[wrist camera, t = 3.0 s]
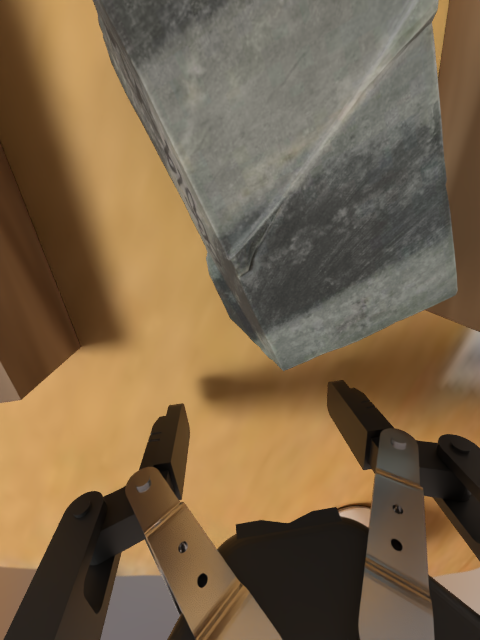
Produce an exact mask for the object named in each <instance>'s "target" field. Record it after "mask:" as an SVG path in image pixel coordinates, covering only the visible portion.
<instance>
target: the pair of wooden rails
mask: <svg viewBox="0 0 480 640" xmlns="http://www.w3.org/2000/svg"><path fill="white" fill-rule="evenodd" d="M438 88H439V98H440V109H441V120H442V134H443V148H444V160H445V168H446V177H447V182H446V190H447V194H448V200H449V207H450V213H451V223H452V234H453V243H454V251H455V262H456V272H457V288H458V291H457V294H456V295H455V296H453V297H451V298H449V299H447V300H445V301H442V302H440V303H438V304H436V305H434V306H432V307H430V308H427V309H425V310H426V311H429V312H431V313H434V314H436V315H439V316H441V317H444V318H446V319H449V320H451V321H454V322H456V323H459V324H461V325H464V326H466V327H469V328H471V329H474V330H476V331H479V332H480V0H450V1H449V8H448V15H447V22H446V29H445V36H444V43H443V50H442V57H441V64H440V71H439V78H438ZM80 347H81V346H80V344H79V341H78V338H77V336H76V333H75V331H74V328H73V326H72V323H71V321H70V318H69V316H68V313H67V311H66V308H65V305H64V303H63V300H62V298H61V295H60V293H59V290H58V288H57V285H56V283H55V280H54V278H53V275H52V272H51V270H50V267H49V265H48V262H47V260H46V257H45V255H44V252H43V250H42V247H41V245H40V242H39V239H38V237H37V234H36V232H35V229H34V227H33V224H32V222H31V219H30V217H29V214H28V212H27V209H26V206H25V204H24V201H23V199H22V196H21V194H20V191H19V189H18V186H17V184H16V181H15V178H14V176H13V173H12V171H11V168H10V166H9V163H8V161H7V158H6V156H5V153H4V151H3V148H2V145H1V143H0V403H3V402H10V401H17V400H22V399H23V398H24V397H25V396H26V395H27V394H28V393H29V392H31V391H32V390H33V389H34V388H35V387H36V386H37V385H38V384H40V383H41V382H42V381H43V380H44V379H45V378H46V377H48V376H49V375H50V374H51V373H52V372H53V371H54V370H55V369H57V368H58V367H59V366H60V365H61V364H62V363H63V362H64V361H66V360H67V359H68V358H69V357H70V356H71V355H72V354H74V353H75V352H76V351H77V350H78V349H79V348H80Z"/></svg>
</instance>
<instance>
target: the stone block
mask: <svg viewBox="0 0 480 640" xmlns="http://www.w3.org/2000/svg"><path fill="white" fill-rule="evenodd" d="M93 2H94V5H95V7H96V10H97V13H98V20H99V25H100V28H101V30H102V33H103V38H104V41H105V44H106V47H107V50H108V53H109V57H110V60H111V63H112V65H113V67H114V69H115V71H116V74H117V76H118V78H119V80H120V82H121V84H122V86H123V88H124V91H125V93H126V95H127V96H128V98H129V100H130V102H131V104H132V106H133V108H134V109H135V111H136V113H137V115H138V117H139V119H140V120H141V122H142V124H143V126H144V128H145V130H146V132H147V134H148V135H149V137H150V139H151V141H152V143H153V145H154V147H155V149H156V151H157V153H158V155H159V156H160V158H161V160H162V162H163V164H164V166H165V168H166V169H167V171H168V174H169V176H170V177H171V179H172V181H173V183H174V185H175V187H176V188H177V190H178V192H179V194H180V196H181V198H182V200H183V202H184V204H185V206H186V208H187V210H188V212H189V214H190V216H191V219H192V221H193V222H194V224H195V226H196V228H197V230H198V232H199V234H200V236H201V238H202V240H203V243H204V244H205V246H206V249H207V252H208V253H207V257H206V260H207V265H208V271H209V275H210V277H211V279H212V281H213V283H214V285H215V287H216V289H217V292H218V294H219V296H220V298H221V300H222V302H223V304H224V306H225V308H226V310H227V312H228V315H229V317H230V319H231V320H232V321H234V322H235V323H236V324H237V325H238V326H239V327H240V328H241V329H242V330H243V331H244V332H245V333H246V334H247V335H248V336H249V338H250V339H251V340H252V341H253V342H254V343H255V344H256V345H258V346H259V347H260V348H261V349H262V351H263V352H264V353H265V354H266V355H267V356H268V357H269V358H270V359H272V360H273V361H274V362H275V363H276V364H277V365H278V366H279V367H280V368H281V369H282V370H283V371H285V370H287V369H290V368H292V367H294V366H297V365H299V364H301V363H304V362H306V361H309V360H311V359H313V358H315V357H317V356H319V355H322V354H324V353H327V352H330V351H333V350H335V349H339V348H342V347H344V346H347V345H349V344H352V343H354V342H357V341H359V340H361V339H363V338H365V337H367V336H369V335H371V334H373V333H375V332H378V331H380V330H382V329H384V328H386V327H388V326H389V325H391V324H393V323H395V322H397V321H400V320H403V319H405V318H407V317H409V316H412V315H414V314H416V313H418V312H421V311H423V310H425V309H427V308H430V307H432V306H434V305H436V304H438V303H440V302H442V301H445V300H447V299H449V298H451V297H453V296H455V295H456V294H457V291H458V288H457V272H456V262H455V251H454V243H453V234H452V223H451V213H450V207H449V200H448V194H447V190H446V182H447V177H446V168H445V160H444V148H443V134H442V120H441V109H440V98H439V88H438V77H437V66H436V56H435V45H434V36H433V28H432V21H433V18H434V16H435V14H436V12H437V9H438V0H93Z"/></svg>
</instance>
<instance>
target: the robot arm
mask: <svg viewBox="0 0 480 640" xmlns="http://www.w3.org/2000/svg"><path fill="white" fill-rule="evenodd" d="M327 407H328V411H329V414H330V416H331V418H332V419H333V421H334V423H335V424H336V426H337V428H338V429H339V431H340V433H341V434H342V436H343V438H344V439H345V441H346V443H347V444H348V446H349V447H350V449H351V451H352V452H353V454H354V456H355V457H356V459H357V461H358V462H359V464H360V466H361V467H362V469H363V470H367V469H372V470H373V471H374V473H375V478H374V486H373V494H372V502H371V511H370V519H369V527H367V526H365V525H364V524H362V523H360V522H358V521H356V520H353V519H350V518H346V517H342V516H340V515H339V512H338V510H337V508H336V507H334V508H328V509H322V510H317V511H312V512H310V513H308V514H306V515H304V516H302V517H300V518H298V519H296V520H294V521H293V522H290V523H280V522H272V521H264V520H259V521H253V522H248V523H242V524H236V533H237V534H235V535H234V536H232V537H230V538H229V539H227V540H226V541H225V542H224V543H223V544H222V545H221V546H220V547H219V548H218V549H216V547H215V546H214V544H213V543H212V542H211V540H210V539H209V537H208V536H207V534H206V533H205V532H204V530H203V529H202V527H201V526H200V524H199V523H198V521H197V520H196V519H195V517H194V516H193V514H192V513H191V511H190V510H189V508H188V507H187V506H186V504H185V503H184V502H180V501H179V500H182V494H183V486H184V478H185V470H186V462H187V454H188V446H189V438H190V429H189V423H188V419H187V415H186V411H185V406H184V404H183V403H182V404H176V405H169V407H168V410H167V414H166V416H162V417H159V418H158V420H157V421H156V422H155V423H154V425H153V428H152V431H151V435H150V437H149V440H148V443H147V446H146V450H145V453H144V456H143V459H142V462H141V465H140V469H139V471H137V472H136V473H135V474H133V475H132V476H131V478H130V479H129V480H128V482H127V484H126V486H125V487H123V488H121V489H119V490H117V491H115V492H113V493H111V494H109V495H106V496H104V497H103V496H102V494H101V493H100V492H97V491H91V492H87V493H85V494H83V495H81V496H80V497H78V498H77V499H76V500H74V501H73V502H72V503H71V504H70V505H69V507H68V508H67V509H66V511H65V513H64V515H63V517H62V519H61V521H60V523H59V525H58V527H57V529H56V531H55V533H54V535H53V538H52V540H51V542H50V544H49V546H48V548H47V550H46V552H45V554H44V556H43V558H42V561H41V563H40V565H39V567H38V569H37V571H36V573H35V575H34V577H33V580H32V582H31V584H30V586H29V588H28V590H27V592H26V594H25V596H24V598H23V600H22V602H21V605H20V606H19V609H18V611H17V613H16V615H15V617H14V619H13V621H12V623H11V625H10V627H9V629H8V632H7V634H6V636H5V638H4V640H100V638H101V634H102V630H103V626H104V622H105V618H106V614H107V610H108V605H109V601H110V597H111V593H112V589H113V585H114V581H115V577H116V573H117V568H118V564H119V560H120V556H121V552H122V551H124V550H126V549H128V548H129V547H131V546H133V545H135V544H137V543H139V542H140V541H142V540H144V539H145V541H146V543H147V546H148V548H149V550H150V552H151V554H152V556H153V558H154V560H155V563H156V565H157V567H158V569H159V571H160V573H161V575H162V578H163V580H164V582H165V584H166V586H167V589H168V591H169V593H170V596H171V598H172V600H173V602H174V604H175V606H176V609H177V611H178V613H179V615H180V617H179V619H178V621H177V622H176V624H175V626H174V628H173V630H172V632H171V634H170V636H169V638H168V639H167V640H480V615H479V614H477V613H476V612H475V611H474V610H472V609H471V608H470V607H468V606H467V605H466V604H465V603H463V602H462V601H461V600H460V599H458V598H457V597H456V596H455V595H453V594H452V593H450V591H448V590H447V589H446V588H445V587H443V586H442V585H441V584H439V583H438V582H437V581H436V580H435V579H433V578H432V577H431V576H429V575H428V563H427V545H426V527H425V509H424V496H430V497H433V498H434V500H435V501H436V502H437V504H438V505H439V506H440V508H441V509H442V511H443V512H444V513H445V515H446V516H447V517H448V519H449V520H450V521H451V523H452V524H453V525H454V527H455V528H456V530H457V531H458V532H459V534H460V535H461V536H462V538H463V539H464V540H465V542H466V543H467V544H468V546H469V547H470V549H471V550H472V551H473V553H474V554H475V555H476V557H477V558H478V559H479V561H480V448H479V447H478V446H477V445H475V444H474V443H473V442H471V441H469V440H467V439H465V438H463V437H460V436H457V435H452V434H446V435H442V436H441V437H440V438H439V440H438V443H432V442H424V441H417V440H415V439H414V438H413V437H412V436H411V435H409V434H408V433H406V432H404V431H402V430H399V429H395V428H394V427H393V426H392V425H391V424H390V423H389V422H388V421H387V419H386V418H385V417H384V416H383V415H382V414H381V413H380V412H379V410H378V409H377V408H375V406H374V405H373V404H372V402H370V400H369V399H368V398H367V397H366V396H365V395H364V393H362V392H360V391H359V390H357V389H355V388H351V389H350V388H349V386H348V385H347V384H346V383H345V382H344V381H343V380H339V381H332V382H329V383H328V394H327Z"/></svg>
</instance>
